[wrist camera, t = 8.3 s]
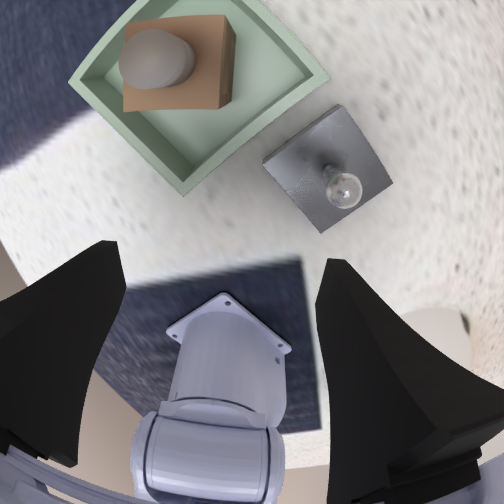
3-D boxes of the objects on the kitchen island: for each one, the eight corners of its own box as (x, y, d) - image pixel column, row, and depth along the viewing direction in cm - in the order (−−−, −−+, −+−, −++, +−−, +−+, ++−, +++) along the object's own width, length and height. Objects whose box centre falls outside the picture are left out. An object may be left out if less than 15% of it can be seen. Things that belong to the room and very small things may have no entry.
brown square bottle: (231, 101, 15) (207, 116, 9) (162, 101, 15) (94, 121, 9) (236, 35, 13) (215, -2, 6) (165, 37, 13) (97, 14, 6)
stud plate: (386, 177, 18) (418, 207, 14) (317, 225, 20) (331, 267, 16) (338, 104, 16) (364, 113, 11) (262, 160, 18) (263, 187, 14)
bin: (318, 78, 15) (331, 78, 12) (196, 176, 19) (183, 197, 16) (208, -29, 11) (196, -49, 8) (97, 79, 15) (67, 82, 12)
